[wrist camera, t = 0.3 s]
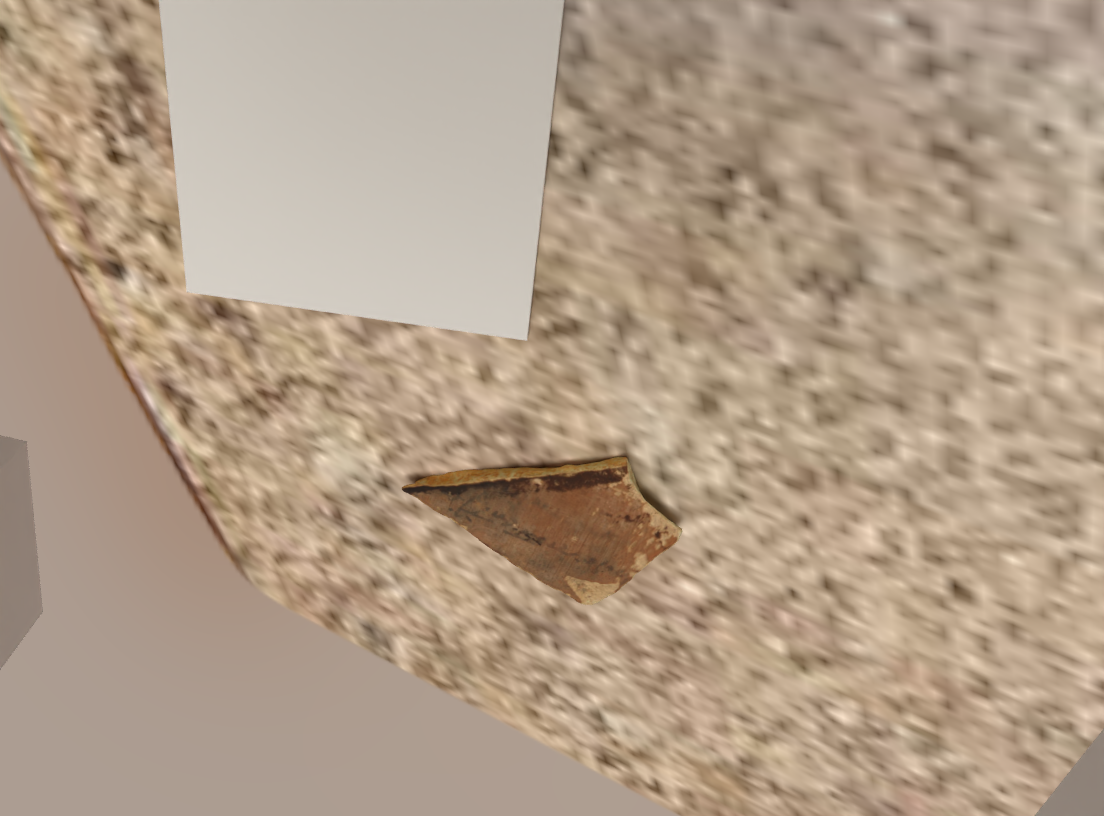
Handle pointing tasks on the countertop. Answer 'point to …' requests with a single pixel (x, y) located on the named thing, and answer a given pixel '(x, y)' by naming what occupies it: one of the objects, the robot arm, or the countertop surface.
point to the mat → (364, 153)
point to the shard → (557, 521)
